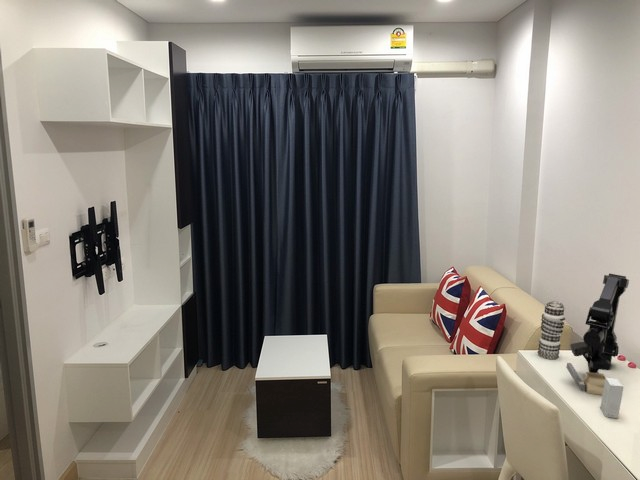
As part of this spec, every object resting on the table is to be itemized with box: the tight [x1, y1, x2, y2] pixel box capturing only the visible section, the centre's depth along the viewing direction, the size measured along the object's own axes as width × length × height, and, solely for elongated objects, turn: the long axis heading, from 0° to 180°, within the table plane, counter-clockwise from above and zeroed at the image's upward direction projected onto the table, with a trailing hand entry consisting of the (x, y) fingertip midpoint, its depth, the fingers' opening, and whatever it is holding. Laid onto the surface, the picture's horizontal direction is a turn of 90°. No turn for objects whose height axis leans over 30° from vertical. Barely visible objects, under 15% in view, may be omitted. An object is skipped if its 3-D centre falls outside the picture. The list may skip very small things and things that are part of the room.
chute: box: [566, 362, 599, 392], centre depth 207 cm, size 20×12×3 cm, turn 169°
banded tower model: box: [537, 300, 566, 360], centre depth 225 cm, size 9×9×25 cm
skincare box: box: [600, 377, 625, 419], centre depth 184 cm, size 6×4×12 cm
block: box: [583, 371, 606, 395], centre depth 198 cm, size 5×6×6 cm
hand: (591, 376), depth 203 cm, fingers closed
